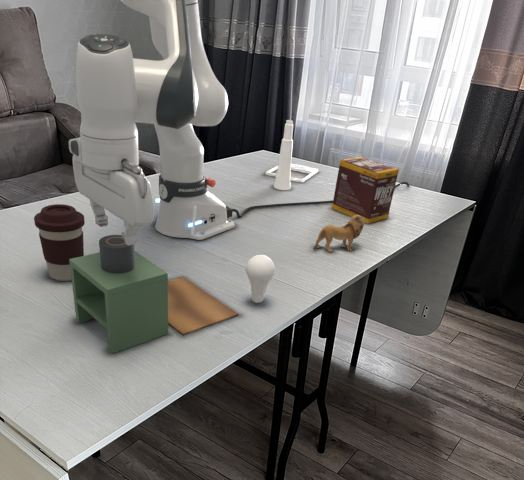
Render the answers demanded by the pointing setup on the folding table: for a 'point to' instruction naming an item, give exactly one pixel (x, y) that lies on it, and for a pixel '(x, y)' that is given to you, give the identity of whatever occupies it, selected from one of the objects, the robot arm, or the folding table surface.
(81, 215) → the coffee cup
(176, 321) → the copper sheet
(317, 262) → the folding table surface
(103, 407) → the folding table surface
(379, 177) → the supplement box
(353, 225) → the lion figurine
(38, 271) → the folding table surface
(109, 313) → the shelf
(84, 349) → the folding table surface
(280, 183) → the white tapered tower
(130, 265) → the tape roll
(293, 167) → the photo frame
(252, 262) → the lightbulb
